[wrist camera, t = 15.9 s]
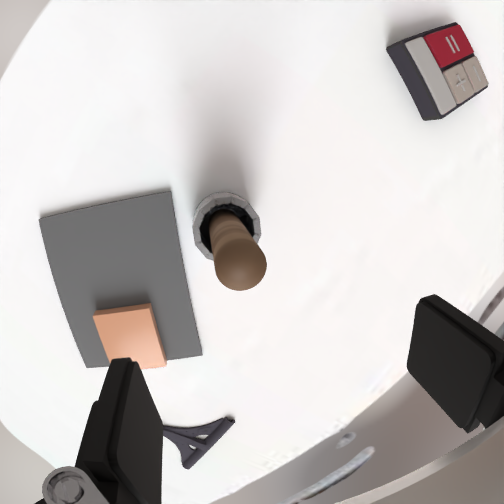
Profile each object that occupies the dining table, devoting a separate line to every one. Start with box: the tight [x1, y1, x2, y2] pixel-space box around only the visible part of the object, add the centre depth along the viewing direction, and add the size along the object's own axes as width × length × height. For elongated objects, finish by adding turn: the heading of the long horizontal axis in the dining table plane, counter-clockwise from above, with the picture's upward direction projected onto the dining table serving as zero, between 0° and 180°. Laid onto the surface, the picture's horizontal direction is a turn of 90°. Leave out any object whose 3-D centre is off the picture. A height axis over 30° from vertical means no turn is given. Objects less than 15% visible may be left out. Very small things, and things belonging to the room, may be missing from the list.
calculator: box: [386, 22, 488, 121], centre depth 31 cm, size 11×4×15 cm
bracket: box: [163, 417, 235, 469], centre depth 40 cm, size 14×15×3 cm
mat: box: [39, 191, 202, 368], centre depth 34 cm, size 20×16×1 cm
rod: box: [208, 209, 267, 291], centre depth 26 cm, size 3×3×14 cm
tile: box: [93, 303, 167, 369], centre depth 34 cm, size 2×7×8 cm
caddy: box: [192, 192, 261, 261], centre depth 31 cm, size 6×6×5 cm
